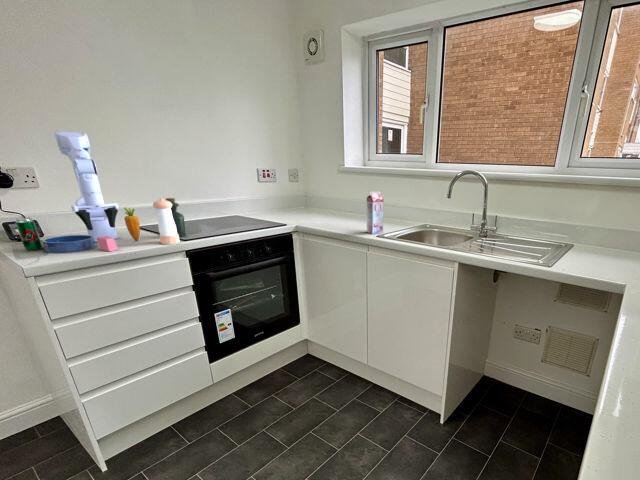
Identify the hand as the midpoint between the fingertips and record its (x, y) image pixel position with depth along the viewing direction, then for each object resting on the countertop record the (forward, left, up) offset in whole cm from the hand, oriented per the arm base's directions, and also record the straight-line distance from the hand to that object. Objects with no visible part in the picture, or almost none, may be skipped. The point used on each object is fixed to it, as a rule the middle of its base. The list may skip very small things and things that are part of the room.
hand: (101, 228), depth 138 cm
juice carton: (-95, +72, -9) cm, 120 cm away
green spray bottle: (-31, -2, -9) cm, 33 cm away
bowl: (+6, -14, -9) cm, 17 cm away
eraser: (0, 0, -9) cm, 9 cm away
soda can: (+14, -23, -9) cm, 28 cm away
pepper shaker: (-21, +7, -9) cm, 24 cm away
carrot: (-15, -7, -9) cm, 19 cm away
